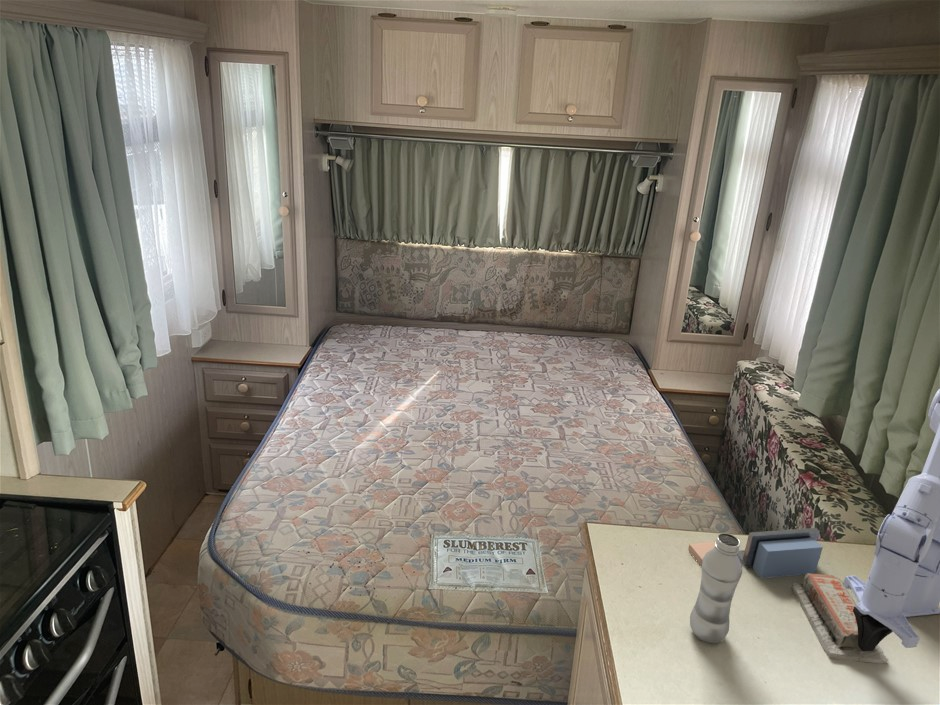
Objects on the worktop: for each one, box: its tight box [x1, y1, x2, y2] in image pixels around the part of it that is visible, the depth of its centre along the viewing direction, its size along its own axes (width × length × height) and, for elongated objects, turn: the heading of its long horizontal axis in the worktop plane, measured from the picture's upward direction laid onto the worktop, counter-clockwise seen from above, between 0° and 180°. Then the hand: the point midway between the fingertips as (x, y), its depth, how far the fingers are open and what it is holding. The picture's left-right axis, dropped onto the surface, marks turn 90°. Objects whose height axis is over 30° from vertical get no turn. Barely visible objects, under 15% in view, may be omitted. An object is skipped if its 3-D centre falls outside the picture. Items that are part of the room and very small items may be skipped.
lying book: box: [687, 540, 716, 567], centre depth 141 cm, size 8×5×2 cm, turn 103°
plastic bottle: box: [689, 532, 743, 644], centre depth 117 cm, size 6×7×20 cm
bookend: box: [737, 527, 821, 568], centre depth 140 cm, size 15×4×8 cm, turn 101°
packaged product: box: [791, 573, 889, 664], centre depth 124 cm, size 18×5×10 cm
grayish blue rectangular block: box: [752, 538, 824, 579], centre depth 137 cm, size 12×3×6 cm, turn 101°
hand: (865, 648), depth 116 cm, fingers closed
